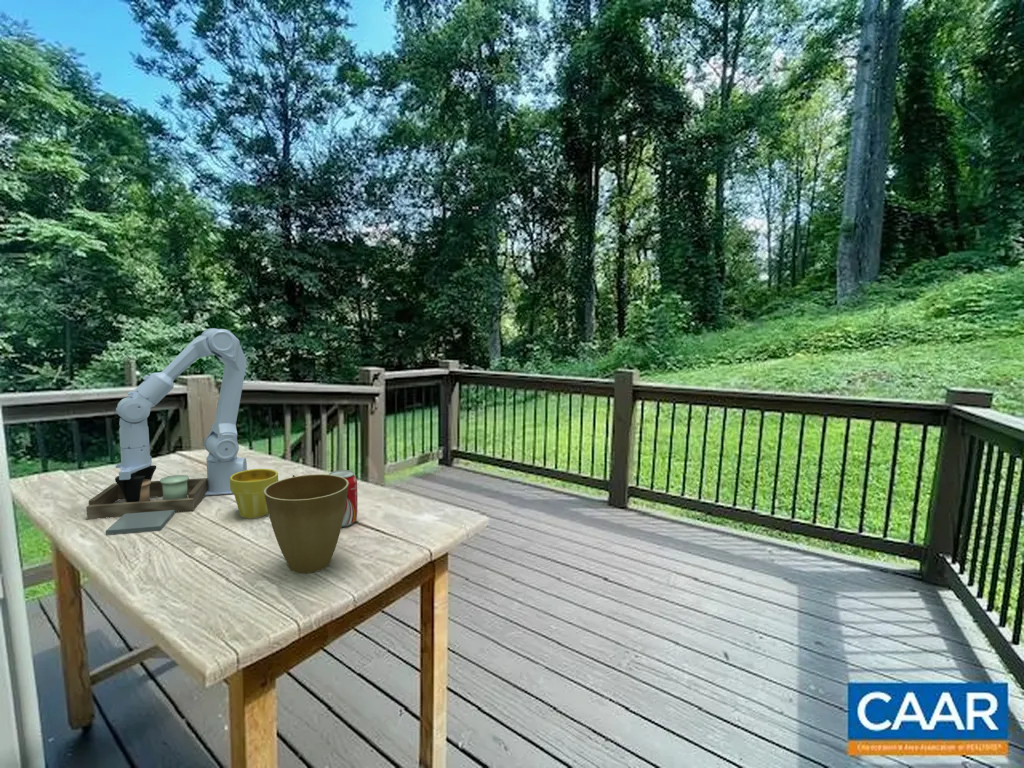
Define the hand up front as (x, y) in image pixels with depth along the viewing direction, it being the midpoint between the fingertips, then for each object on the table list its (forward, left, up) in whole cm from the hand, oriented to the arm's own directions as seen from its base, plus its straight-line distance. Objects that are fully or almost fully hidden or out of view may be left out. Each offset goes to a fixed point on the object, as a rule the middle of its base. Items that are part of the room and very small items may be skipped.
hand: (138, 499), depth 124 cm
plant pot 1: (-28, +12, -2) cm, 31 cm away
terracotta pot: (0, 0, -2) cm, 2 cm away
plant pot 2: (-42, +43, -2) cm, 60 cm away
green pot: (-8, 0, -2) cm, 8 cm away
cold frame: (-3, 0, -2) cm, 3 cm away
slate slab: (-5, +13, -2) cm, 14 cm away
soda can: (-48, +23, -2) cm, 53 cm away
